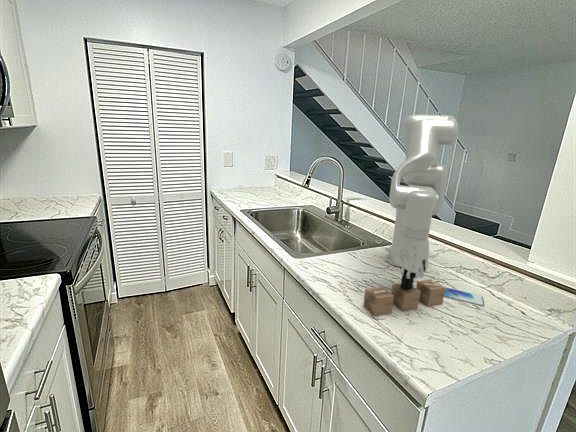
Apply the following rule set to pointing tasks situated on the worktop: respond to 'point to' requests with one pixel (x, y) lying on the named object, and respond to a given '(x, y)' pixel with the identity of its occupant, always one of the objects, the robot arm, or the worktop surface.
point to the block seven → (430, 292)
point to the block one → (378, 301)
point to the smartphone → (464, 296)
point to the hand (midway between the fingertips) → (406, 288)
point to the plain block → (405, 297)
